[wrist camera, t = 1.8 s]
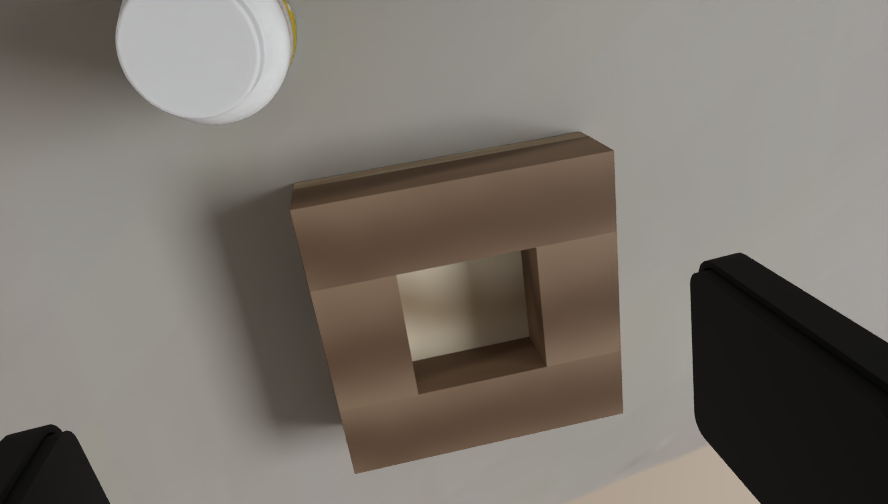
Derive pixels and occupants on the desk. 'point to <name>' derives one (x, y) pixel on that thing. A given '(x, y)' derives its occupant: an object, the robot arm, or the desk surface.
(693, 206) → the desk surface
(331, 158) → the desk surface
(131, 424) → the desk surface
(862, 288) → the desk surface
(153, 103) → the supplement bottle
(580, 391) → the socket block
